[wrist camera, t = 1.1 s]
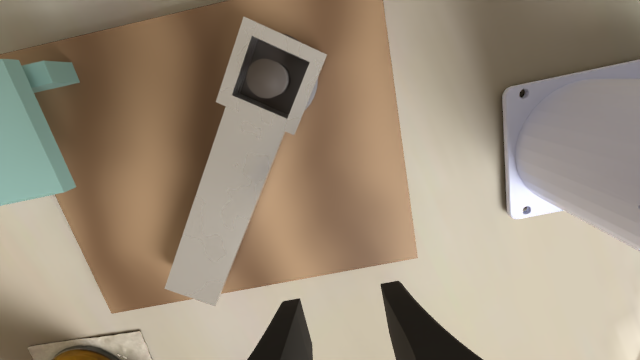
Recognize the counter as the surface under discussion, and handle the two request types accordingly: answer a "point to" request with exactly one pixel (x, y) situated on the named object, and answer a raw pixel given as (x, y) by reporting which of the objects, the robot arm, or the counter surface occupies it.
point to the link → (236, 167)
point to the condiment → (94, 348)
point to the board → (199, 134)
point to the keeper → (30, 132)
